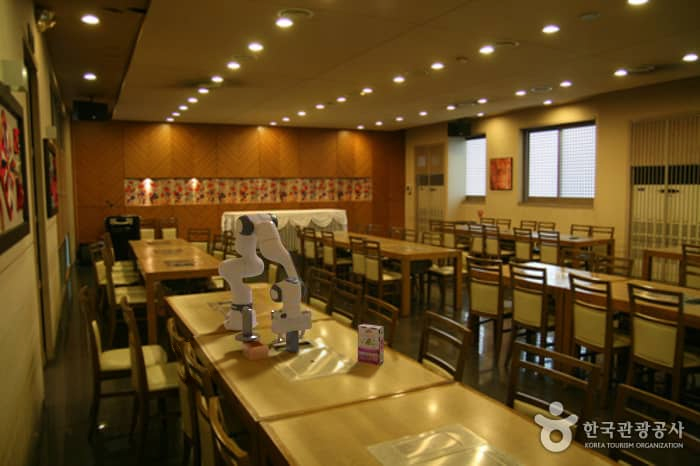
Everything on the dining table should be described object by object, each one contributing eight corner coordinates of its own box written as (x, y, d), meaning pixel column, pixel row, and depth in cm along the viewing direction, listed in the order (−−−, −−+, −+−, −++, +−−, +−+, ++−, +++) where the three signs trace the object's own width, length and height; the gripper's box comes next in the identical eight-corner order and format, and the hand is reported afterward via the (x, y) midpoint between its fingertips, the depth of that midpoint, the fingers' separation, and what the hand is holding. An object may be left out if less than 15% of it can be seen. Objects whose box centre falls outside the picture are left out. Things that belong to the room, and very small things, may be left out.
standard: (231, 348, 260) (230, 308, 258) (254, 344, 266) (254, 305, 264) (247, 361, 242) (246, 317, 240) (271, 356, 248) (271, 314, 246)
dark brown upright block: (285, 349, 259) (285, 329, 258) (293, 348, 261) (293, 328, 260) (291, 353, 254) (291, 332, 253) (298, 351, 256) (298, 331, 255)
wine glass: (288, 338, 277) (288, 310, 275) (284, 343, 269) (284, 314, 267) (273, 338, 277) (272, 310, 276) (269, 342, 270) (269, 313, 268)
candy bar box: (384, 361, 242) (384, 326, 241) (379, 365, 238) (379, 328, 236) (362, 357, 247) (362, 323, 246) (357, 361, 243) (357, 325, 241)
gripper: (308, 308, 264) (308, 335, 265) (269, 313, 253) (270, 341, 254) (314, 310, 258) (314, 338, 260) (275, 316, 248) (275, 345, 249)
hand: (292, 340), depth 257 cm, fingers open, 8 cm apart
